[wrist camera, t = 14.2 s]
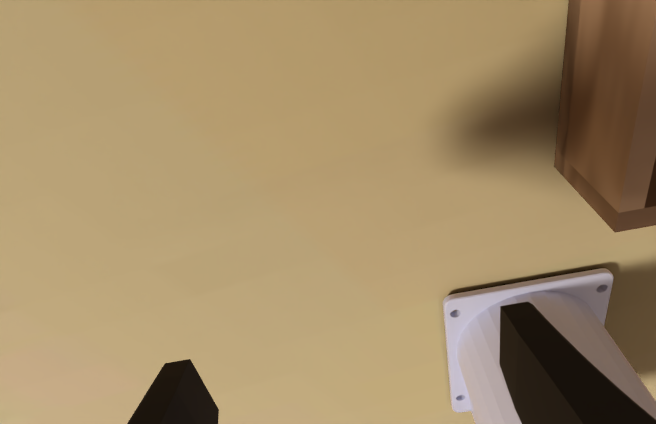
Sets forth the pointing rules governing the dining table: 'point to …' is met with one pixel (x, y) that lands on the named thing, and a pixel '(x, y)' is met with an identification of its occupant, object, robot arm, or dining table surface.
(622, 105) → the brown wooden open box
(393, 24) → the dining table surface
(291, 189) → the dining table surface
